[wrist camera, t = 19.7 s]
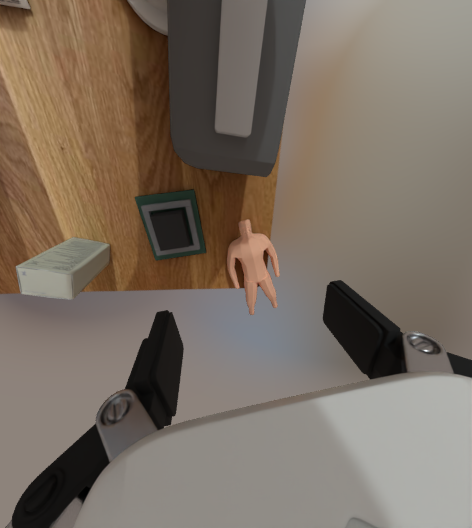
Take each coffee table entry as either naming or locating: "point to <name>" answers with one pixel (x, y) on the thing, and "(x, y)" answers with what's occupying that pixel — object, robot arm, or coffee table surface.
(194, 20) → the alarm clock
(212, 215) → the coffee table surface
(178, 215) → the black block
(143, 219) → the base pad
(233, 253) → the male figurine
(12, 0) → the newspaper
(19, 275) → the cosmetic box
